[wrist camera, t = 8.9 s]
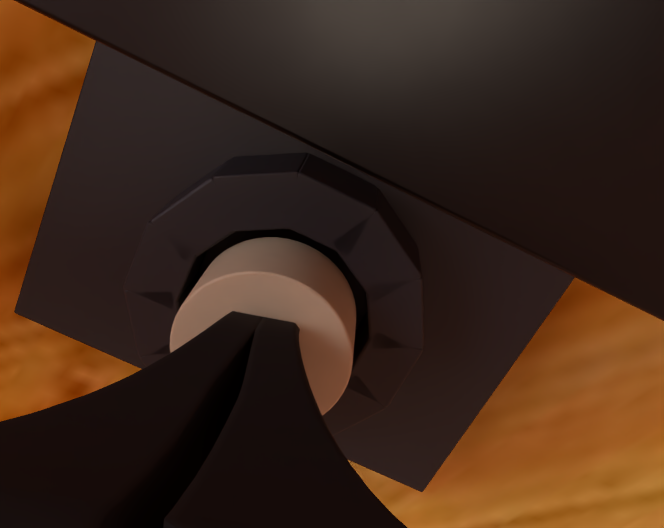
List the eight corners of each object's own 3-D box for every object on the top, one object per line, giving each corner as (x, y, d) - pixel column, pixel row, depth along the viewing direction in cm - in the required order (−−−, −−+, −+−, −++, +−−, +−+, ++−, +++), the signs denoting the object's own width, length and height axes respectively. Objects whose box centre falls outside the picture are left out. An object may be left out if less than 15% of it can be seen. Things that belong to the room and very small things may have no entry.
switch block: (576, 237, 15) (619, 287, 12) (420, 463, 18) (427, 544, 15) (126, 12, 14) (62, 12, 11) (36, 293, 17) (-31, 347, 14)
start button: (384, 280, 13) (385, 323, 11) (314, 404, 15) (305, 458, 13) (232, 208, 13) (207, 239, 11) (174, 340, 14) (144, 388, 12)
